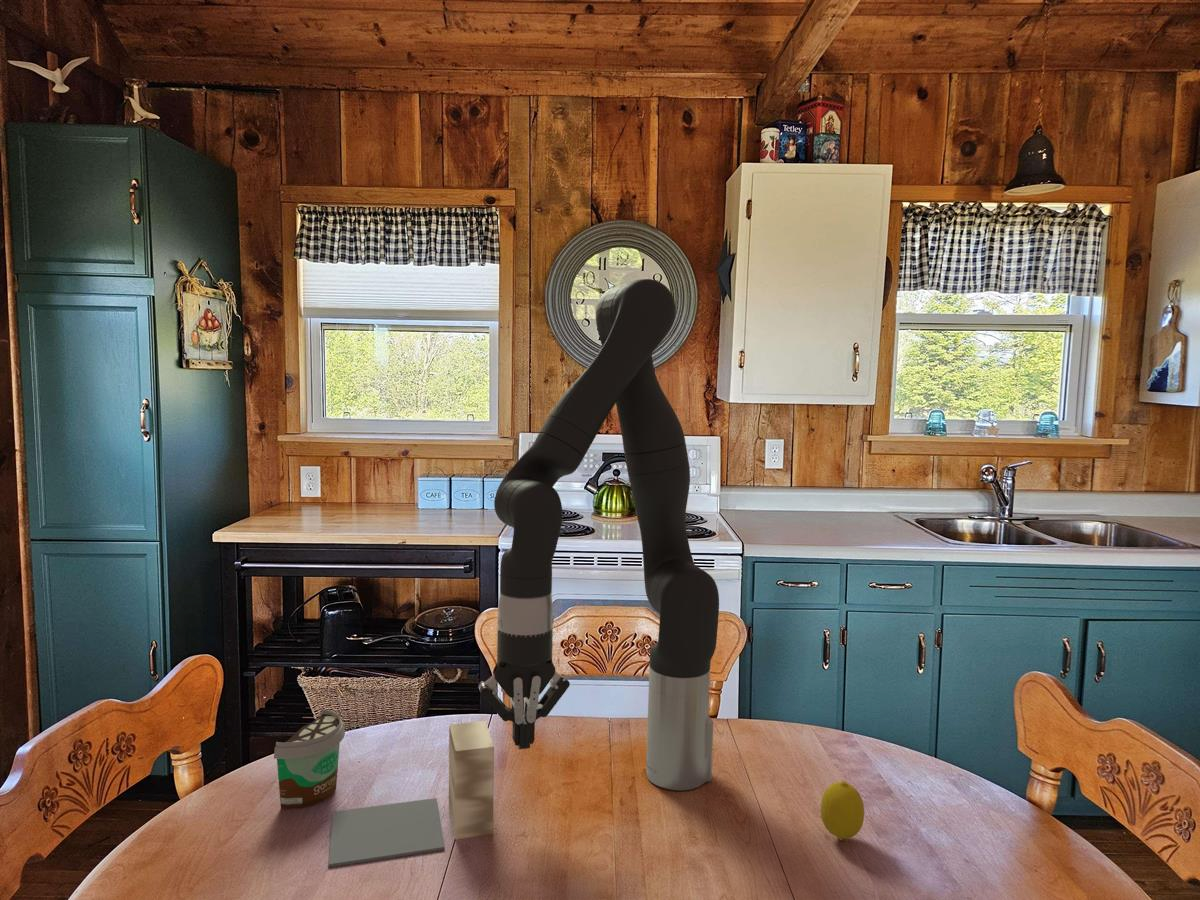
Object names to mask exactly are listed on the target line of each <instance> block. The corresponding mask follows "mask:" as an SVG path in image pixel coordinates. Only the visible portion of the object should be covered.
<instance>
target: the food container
mask: <svg viewBox="0 0 1200 900" xmlns="http://www.w3.org/2000/svg"><path fill="white" fill-rule="evenodd" d="M345 735H346V731H345V726H344V723H343V720H342V718H341V716H340V715H339V714H338V713H336V712H335V711H333V710H329V709H326V708H325V709H324V708H321V712H320V716H318V717H317V718H316V719H315V720H313V721H312V722H310V723H307V724H306V725H304V726H302V727H301V728H299V729H298V730H297V731H296V732H295V733H294V734H293V736H291V737H290V738H289V739H288V740H286V741H285V742H279V741H276V742H275V747H274V751H273V752H274V753H273V759H274V760H275V759H276V766H277V776H278V778H277V779H278V790H279V791H278V792H279V800H280V809H282V810H298V809H299V810H300V809H305V808H311V807H313V806H316V805H318V803H319V804H321V803H324V802H325V801H326V799H327V800H328V799H330V798H331V797H332V796H333V795H334V794H335V792H336V791H337V790H336V789H337V783H338V772H339V771H338V768H339V758H340V757H339V756H340V744H341V742H342V740H344V738H345ZM335 790H336V791H335ZM333 793H334V794H333ZM332 794H333V795H332ZM330 796H331V797H330ZM329 797H330V798H329ZM320 802H321V803H320Z"/></svg>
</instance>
